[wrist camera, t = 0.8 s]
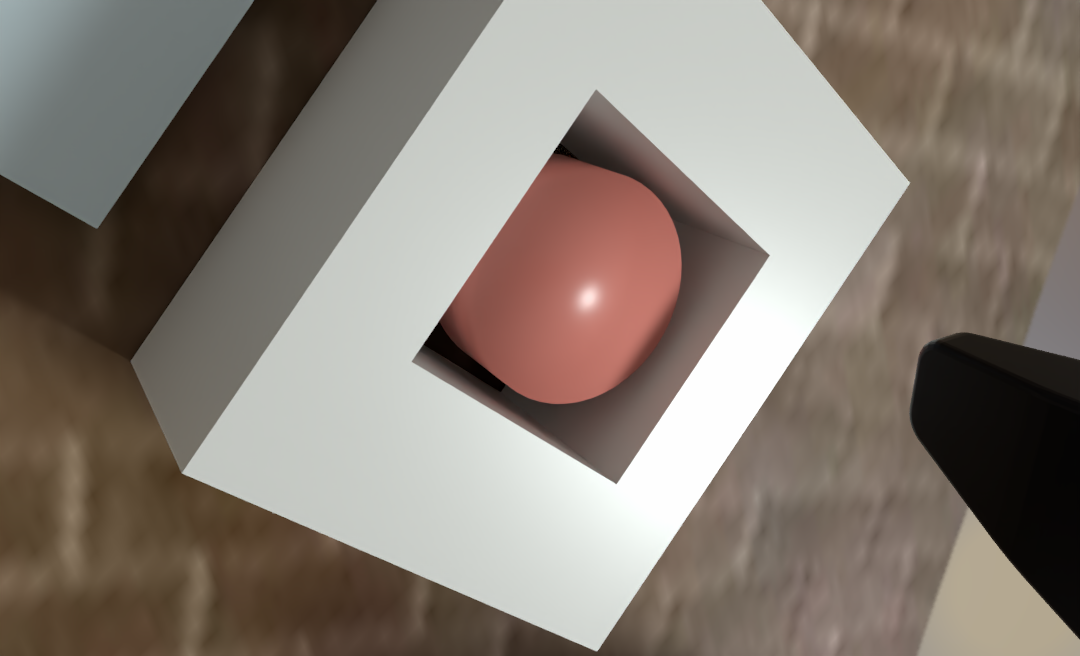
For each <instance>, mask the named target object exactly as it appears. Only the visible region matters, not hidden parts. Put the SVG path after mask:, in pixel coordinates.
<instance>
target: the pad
mask: <svg viewBox="0 0 1080 656" xmlns="http://www.w3.org/2000/svg"><path fill="white" fill-rule="evenodd" d="M253 1H254V0H0V175H2V176H4V177H6V178H7V179H9V180H11V181H13V182H14V183H16V184H18V185H20V186H22V187H23V188H25V189H27V190H29V191H30V192H32V193H34V194H36V195H38V196H39V197H41V198H43V199H45V200H46V201H48V202H50V203H52V204H54V205H55V206H57V207H59V208H61V209H62V210H64V211H66V212H68V213H70V214H71V215H73V216H75V217H77V218H78V219H80V220H82V221H84V222H86V223H87V224H89V225H91V226H93V227H94V228H96V229H97V228H98V227H99V226H100V224H101V223H102V221H103V220H104V218H105V217H106V215H107V214H108V212H109V211H110V210H111V208H112V207H113V205H114V204H115V202H116V201H117V199H118V198H119V196H120V195H121V194H122V192H123V191H124V189H125V188H126V186H127V185H128V183H129V182H130V180H131V179H132V178H133V176H134V175H135V173H136V172H137V170H138V169H139V167H140V166H141V164H142V163H143V162H144V160H145V159H146V157H147V156H148V154H149V153H150V151H151V150H152V148H153V147H154V146H155V144H156V143H157V141H158V140H159V138H160V137H161V135H162V134H163V132H164V131H165V130H166V128H167V127H168V125H169V124H170V122H171V121H172V119H173V118H174V116H175V115H176V113H177V112H178V111H179V109H180V108H181V106H182V105H183V103H184V102H185V100H186V99H187V97H188V96H189V95H190V93H191V92H192V90H193V89H194V87H195V86H196V84H197V83H198V81H199V80H200V79H201V77H202V76H203V74H204V73H205V71H206V70H207V68H208V67H209V65H210V64H211V63H212V61H213V60H214V58H215V57H216V55H217V54H218V52H219V51H220V49H221V48H222V47H223V45H224V44H225V42H226V41H227V39H228V38H229V36H230V35H231V33H232V32H233V31H234V29H235V28H236V26H237V25H238V23H239V22H240V20H241V19H242V17H243V16H244V15H245V13H246V12H247V10H248V9H249V7H250V6H251V4H252V3H253Z"/></svg>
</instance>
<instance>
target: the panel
mask: <svg viewBox="0 0 1080 656" xmlns="http://www.w3.org/2000/svg"><path fill="white" fill-rule="evenodd" d="M559 143H561V144H562V145H563V146H564V147H565V148H566V149H567V150H569V151H570V152H571V153H572V154H573V155H574V156H575V157H576V158H578V159H579V160H580V161H583V162H586V163H589V164H592V165H595V166H598V167H601V168H604V169H607V170H610V171H613V172H616V173H619V174H622V175H625V176H628V177H630V178H632V179H634V180H636V181H638V182H640V183H642V184H643V185H644V186H645V187H647V188H648V189H649V190H651V191H652V192H653V193H654V194H655V195H656V196H657V197H658V199H659V200H660V201H661V202H662V204H663V205H664V207H665V208H666V209H667V211H668V213H669V215H670V217H671V219H672V221H673V223H674V226H675V229H676V232H677V235H678V239H679V244H680V249H681V261H682V268H681V282H680V289H679V294H678V298H677V302H676V306H675V309H674V312H673V315H672V317H671V320H670V322H669V324H668V326H667V329H666V331H665V333H664V335H663V336H662V338H661V340H660V341H659V343H658V345H657V346H656V348H655V349H654V350H653V352H652V353H651V354H650V356H649V357H648V358H647V359H646V360H645V362H644V363H643V364H642V365H641V366H640V367H639V368H638V369H637V370H636V371H635V372H634V373H633V374H631V375H630V376H629V377H628V378H627V379H626V380H624V381H623V382H621V383H620V384H619V385H617V386H616V387H614V388H612V389H611V390H609V391H607V392H605V393H603V394H601V395H598V396H596V397H594V398H591V399H588V400H584V401H580V402H576V403H568V404H550V403H544V402H539V401H536V400H533V399H530V398H527V397H525V396H523V395H521V394H519V393H517V392H516V391H514V390H513V389H512V388H510V387H509V386H508V385H505V387H504V388H503V390H502V391H501V392H499V391H498V390H496V389H495V388H493V387H491V386H490V385H488V384H486V383H485V382H483V381H482V380H480V379H478V378H477V377H475V376H473V375H472V374H470V373H469V372H467V371H465V370H464V369H462V368H461V367H459V366H457V365H456V364H454V363H452V362H451V361H449V360H448V359H446V358H444V357H443V356H441V355H439V354H438V353H436V352H435V351H433V350H431V349H430V348H428V347H427V346H425V345H423V344H424V342H425V341H426V339H427V338H428V336H429V335H430V334H431V332H432V331H433V329H434V328H435V326H436V325H437V323H438V322H439V320H440V319H441V317H442V316H443V314H444V313H445V311H446V310H447V308H448V307H449V305H450V304H451V303H452V301H453V300H454V298H455V297H456V295H457V294H458V292H459V291H460V289H461V288H462V286H463V285H464V283H465V282H466V280H467V279H468V277H469V276H470V274H471V273H472V271H473V270H474V269H475V267H476V266H477V264H478V263H479V261H480V260H481V258H482V257H483V255H484V254H485V252H486V251H487V249H488V248H489V246H490V245H491V243H492V242H493V240H494V239H495V238H496V236H497V235H498V233H499V232H500V230H501V229H502V227H503V226H504V224H505V223H506V221H507V220H508V218H509V217H510V215H511V214H512V212H513V211H514V209H515V208H516V207H517V205H518V204H519V202H520V201H521V199H522V198H523V196H524V195H525V193H526V192H527V190H528V189H529V187H530V186H531V184H532V183H533V181H534V180H535V178H536V177H537V176H538V174H539V173H540V171H541V170H542V168H543V167H544V165H545V164H546V162H547V161H548V159H549V158H550V156H551V155H552V153H553V152H554V150H555V149H556V147H557V146H558V145H559ZM909 184H910V183H909V181H908V180H907V179H906V178H905V177H904V175H903V174H902V173H901V172H900V170H899V169H898V168H897V167H896V165H895V164H894V163H893V162H892V161H891V159H890V158H889V157H888V156H887V154H886V153H885V152H884V151H883V149H882V148H881V147H880V146H879V145H878V143H877V142H876V141H875V140H874V138H873V137H872V136H871V135H870V133H869V132H868V131H867V130H866V129H865V127H864V126H863V125H862V124H861V122H860V121H859V120H858V119H857V117H856V116H855V115H854V114H853V113H852V111H851V110H850V109H849V108H848V106H847V105H846V104H845V103H844V102H843V100H842V99H841V98H840V97H839V95H838V94H837V93H836V92H835V90H834V89H833V88H832V87H831V86H830V84H829V83H828V82H827V81H826V79H825V78H824V77H823V76H822V74H821V73H820V72H819V71H818V70H817V68H816V67H815V66H814V65H813V63H812V62H811V61H810V60H809V58H808V57H807V56H806V55H805V54H804V52H803V51H802V50H801V49H800V47H799V46H798V45H797V44H796V42H795V41H794V40H793V39H792V38H791V36H790V35H789V34H788V33H787V31H786V30H785V29H784V28H783V26H782V25H781V24H780V23H779V22H778V20H777V19H776V18H775V17H774V15H773V14H772V13H771V12H770V10H769V9H768V8H767V7H766V6H765V4H764V3H763V2H762V1H761V0H377V2H376V3H375V5H374V6H373V7H372V9H371V10H370V12H369V13H368V15H367V16H366V18H365V19H364V21H363V22H362V24H361V25H360V26H359V28H358V29H357V31H356V32H355V34H354V35H353V37H352V38H351V40H350V41H349V43H348V44H347V45H346V47H345V48H344V50H343V51H342V53H341V54H340V56H339V57H338V59H337V60H336V62H335V63H334V64H333V66H332V67H331V69H330V70H329V72H328V73H327V75H326V76H325V78H324V79H323V81H322V82H321V83H320V85H319V86H318V88H317V89H316V91H315V92H314V94H313V95H312V97H311V98H310V100H309V101H308V102H307V104H306V105H305V107H304V108H303V110H302V111H301V113H300V114H299V116H298V117H297V119H296V120H295V121H294V123H293V124H292V126H291V127H290V129H289V130H288V132H287V133H286V135H285V136H284V138H283V139H282V140H281V142H280V143H279V145H278V146H277V148H276V149H275V151H274V152H273V154H272V155H271V157H270V158H269V159H268V161H267V162H266V164H265V165H264V167H263V168H262V170H261V171H260V173H259V174H258V176H257V177H256V178H255V180H254V181H253V183H252V184H251V186H250V187H249V189H248V190H247V192H246V193H245V195H244V196H243V197H242V199H241V200H240V202H239V203H238V205H237V206H236V208H235V209H234V211H233V212H232V214H231V215H230V216H229V218H228V219H227V221H226V222H225V224H224V225H223V227H222V228H221V230H220V231H219V233H218V234H217V235H216V237H215V238H214V240H213V241H212V243H211V244H210V246H209V247H208V249H207V250H206V252H205V253H204V254H203V256H202V257H201V259H200V260H199V262H198V263H197V265H196V266H195V268H194V269H193V271H192V272H191V273H190V275H189V276H188V278H187V279H186V281H185V282H184V284H183V285H182V287H181V288H180V290H179V291H178V292H177V294H176V295H175V297H174V298H173V300H172V301H171V303H170V304H169V306H168V307H167V309H166V310H165V311H164V313H163V314H162V316H161V317H160V319H159V320H158V322H157V323H156V325H155V326H154V328H153V329H152V330H151V332H150V333H149V335H148V336H147V338H146V339H145V341H144V342H143V344H142V345H141V347H140V348H139V349H138V351H137V352H136V354H135V355H134V357H133V358H132V360H131V361H130V362H131V364H132V366H133V368H134V370H135V372H136V375H137V377H138V379H139V381H140V383H141V386H142V388H143V390H144V392H145V394H146V396H147V399H148V401H149V403H150V405H151V407H152V409H153V412H154V414H155V416H156V418H157V420H158V423H159V425H160V427H161V429H162V431H163V433H164V436H165V438H166V440H167V442H168V444H169V447H170V449H171V451H172V453H173V455H174V457H175V460H176V462H177V464H178V466H179V468H180V470H181V473H182V474H185V475H187V476H189V477H192V478H194V479H196V480H199V481H201V482H203V483H206V484H208V485H210V486H213V487H215V488H217V489H220V490H222V491H224V492H227V493H229V494H231V495H234V496H236V497H238V498H241V499H243V500H245V501H248V502H250V503H252V504H255V505H257V506H259V507H262V508H264V509H266V510H269V511H271V512H273V513H276V514H278V515H280V516H282V517H285V518H287V519H289V520H292V521H294V522H296V523H299V524H301V525H303V526H306V527H308V528H310V529H313V530H315V531H317V532H320V533H322V534H324V535H327V536H329V537H331V538H334V539H336V540H338V541H341V542H343V543H345V544H348V545H350V546H352V547H355V548H357V549H359V550H362V551H364V552H366V553H369V554H371V555H373V556H376V557H378V558H380V559H383V560H385V561H387V562H390V563H392V564H394V565H397V566H399V567H401V568H404V569H406V570H408V571H411V572H413V573H415V574H418V575H420V576H422V577H425V578H427V579H429V580H431V581H434V582H436V583H438V584H441V585H443V586H445V587H448V588H450V589H452V590H455V591H457V592H459V593H462V594H464V595H466V596H469V597H471V598H473V599H476V600H478V601H480V602H483V603H485V604H487V605H490V606H492V607H494V608H497V609H499V610H501V611H504V612H506V613H508V614H511V615H513V616H515V617H518V618H520V619H522V620H525V621H527V622H529V623H532V624H534V625H536V626H539V627H541V628H543V629H546V630H548V631H550V632H553V633H555V634H557V635H560V636H562V637H564V638H567V639H569V640H571V641H573V642H576V643H578V644H580V645H583V646H585V647H587V648H590V649H592V650H594V651H598V649H599V648H600V646H601V645H602V643H603V642H604V640H605V639H606V637H607V636H608V634H609V633H610V631H611V630H612V628H613V627H614V625H615V624H616V623H617V621H618V620H619V618H620V617H621V615H622V614H623V612H624V611H625V609H626V608H627V606H628V605H629V603H630V602H631V600H632V599H633V597H634V596H635V594H636V593H637V591H638V590H639V588H640V587H641V585H642V584H643V582H644V581H645V579H646V578H647V576H648V575H649V573H650V572H651V570H652V569H653V567H654V566H655V564H656V563H657V561H658V560H659V558H660V557H661V555H662V554H663V552H664V551H665V549H666V548H667V546H668V545H669V543H670V542H671V540H672V539H673V537H674V536H675V534H676V533H677V531H678V530H679V528H680V527H681V525H682V524H683V522H684V521H685V519H686V518H687V516H688V515H689V513H690V512H691V510H692V509H693V507H694V506H695V504H696V503H697V501H698V500H699V498H700V497H701V495H702V494H703V492H704V491H705V489H706V488H707V486H708V485H709V483H710V482H711V480H712V479H713V477H714V476H715V474H716V473H717V471H718V470H719V468H720V467H721V465H722V464H723V462H724V461H725V459H726V458H727V456H728V455H729V453H730V452H731V450H732V449H733V447H734V446H735V444H736V443H737V441H738V440H739V438H740V437H741V435H742V434H743V432H744V431H745V429H746V428H747V426H748V425H749V423H750V422H751V420H752V419H753V417H754V416H755V414H756V413H757V411H758V410H759V408H760V407H761V405H762V404H763V402H764V401H765V399H766V398H767V396H768V395H769V393H770V392H771V390H772V389H773V387H774V386H775V384H776V383H777V381H778V380H779V378H780V377H781V375H782V374H783V372H784V371H785V369H786V368H787V366H788V365H789V363H790V362H791V360H792V359H793V357H794V356H795V354H796V353H797V351H798V350H799V348H800V347H801V345H802V344H803V342H804V341H805V339H806V338H807V336H808V335H809V333H810V332H811V330H812V329H813V328H814V326H815V325H816V323H817V322H818V320H819V319H820V317H821V316H822V314H823V313H824V311H825V310H826V308H827V307H828V305H829V304H830V302H831V301H832V299H833V298H834V296H835V295H836V293H837V292H838V290H839V289H840V287H841V286H842V284H843V283H844V281H845V280H846V278H847V277H848V275H849V274H850V272H851V271H852V269H853V268H854V266H855V265H856V263H857V262H858V260H859V259H860V257H861V256H862V254H863V253H864V251H865V250H866V248H867V247H868V245H869V244H870V242H871V241H872V239H873V238H874V236H875V235H876V233H877V232H878V230H879V229H880V227H881V226H882V224H883V223H884V221H885V220H886V218H887V217H888V215H889V214H890V212H891V211H892V209H893V208H894V206H895V205H896V203H897V202H898V200H899V199H900V197H901V196H902V194H903V193H904V191H905V190H906V188H907V187H908V185H909Z"/></svg>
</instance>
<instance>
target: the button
mask: <svg viewBox="0 0 1080 656" xmlns="http://www.w3.org/2000/svg"><path fill="white" fill-rule="evenodd" d="M681 268H682V261H681V249H680V244H679V239H678V235H677V232H676V229H675V226H674V223H673V221H672V219H671V217H670V215H669V213H668V211H667V209H666V208H665V207H664V205H663V204H662V202H661V201H660V200H659V199H658V197H657V196H656V195H655V194H654V193H653V192H652V191H651V190H649V189H648V188H647V187H645V186H644V185H643V184H642V183H640V182H638V181H636V180H634V179H632V178H630V177H628V176H625V175H622V174H619V173H616V172H613V171H610V170H607V169H604V168H601V167H598V166H595V165H592V164H589V163H586V162H583V161H580V160H577V159H574V158H571V157H568V156H565V155H561V154H556V153H552V155H551V156H550V158H549V159H548V161H547V162H546V164H545V165H544V167H543V168H542V170H541V171H540V173H539V174H538V176H537V177H536V178H535V180H534V181H533V183H532V184H531V186H530V187H529V189H528V190H527V192H526V193H525V195H524V196H523V198H522V199H521V201H520V202H519V204H518V205H517V207H516V208H515V209H514V211H513V212H512V214H511V215H510V217H509V218H508V220H507V221H506V223H505V224H504V226H503V227H502V229H501V230H500V232H499V233H498V235H497V236H496V238H495V239H494V240H493V242H492V243H491V245H490V246H489V248H488V249H487V251H486V252H485V254H484V255H483V257H482V258H481V260H480V261H479V263H478V264H477V266H476V267H475V269H474V270H473V271H472V273H471V274H470V276H469V277H468V279H467V280H466V282H465V283H464V285H463V286H462V288H461V289H460V291H459V292H458V294H457V295H456V297H455V298H454V300H453V301H452V303H451V304H450V305H449V307H448V308H447V310H446V311H445V313H444V314H443V316H442V317H441V319H440V320H439V321H440V323H441V325H442V327H443V329H444V330H445V332H446V333H447V334H448V336H449V337H450V339H451V340H452V341H453V342H454V343H455V344H456V345H457V346H458V347H459V348H460V349H461V350H462V351H463V352H465V353H466V354H467V355H469V356H470V357H471V358H473V359H474V360H475V361H476V362H478V363H479V364H480V365H482V366H483V367H484V368H485V369H487V370H488V371H489V372H491V373H492V374H493V375H495V376H496V377H497V378H498V379H500V380H501V381H502V382H504V383H505V384H506V385H508V386H509V387H510V388H512V389H513V390H514V391H516V392H517V393H519V394H521V395H523V396H525V397H527V398H530V399H533V400H536V401H539V402H544V403H550V404H568V403H576V402H580V401H584V400H588V399H591V398H594V397H596V396H598V395H601V394H603V393H605V392H607V391H609V390H611V389H612V388H614V387H616V386H617V385H619V384H620V383H621V382H623V381H624V380H626V379H627V378H628V377H629V376H630V375H631V374H633V373H634V372H635V371H636V370H637V369H638V368H639V367H640V366H641V365H642V364H643V363H644V362H645V360H646V359H647V358H648V357H649V356H650V354H651V353H652V352H653V350H654V349H655V348H656V346H657V345H658V343H659V341H660V340H661V338H662V336H663V335H664V333H665V331H666V329H667V326H668V324H669V322H670V320H671V317H672V315H673V312H674V309H675V306H676V302H677V298H678V294H679V289H680V282H681Z"/></svg>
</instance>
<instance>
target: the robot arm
mask: <svg viewBox="0 0 1080 656" xmlns="http://www.w3.org/2000/svg"><path fill="white" fill-rule="evenodd" d="M909 414H910V422H911V425H912V428H913V431H914V433H915V435H916V436H917V438H918V440H919V441H920V442H921V444H922V445H923V446H924V448H925V449H926V450H927V452H928V453H929V454H930V456H931V457H932V458H933V460H934V461H935V462H936V464H937V465H938V466H939V468H940V469H941V471H942V472H943V473H944V475H945V476H946V477H947V479H948V480H949V481H950V483H951V484H952V485H953V487H954V488H955V489H956V491H957V492H958V493H959V495H960V496H961V497H962V499H963V500H964V501H965V503H966V504H967V506H968V507H969V508H970V510H971V511H972V512H973V513H974V515H975V516H976V518H977V519H978V520H979V522H980V523H981V524H982V526H983V527H984V528H985V530H986V531H987V532H988V534H989V535H990V536H991V538H992V539H993V540H994V542H995V543H996V544H997V546H998V547H999V548H1000V549H1001V551H1002V552H1003V553H1004V554H1005V556H1006V557H1007V558H1008V559H1009V561H1010V562H1011V563H1012V564H1013V565H1014V567H1015V568H1016V569H1017V570H1018V571H1019V572H1020V573H1021V575H1022V576H1023V577H1024V578H1025V579H1026V581H1027V582H1028V583H1029V584H1030V585H1031V586H1032V587H1033V588H1034V589H1035V590H1036V592H1037V593H1038V594H1039V595H1040V596H1041V597H1042V598H1043V599H1044V600H1045V602H1046V603H1047V604H1048V605H1049V606H1050V607H1051V608H1052V609H1053V610H1054V612H1055V613H1056V614H1057V615H1058V616H1059V617H1060V618H1061V619H1062V620H1063V622H1064V623H1065V624H1066V625H1067V626H1068V627H1069V628H1070V629H1071V630H1072V631H1073V633H1075V635H1076V636H1077V637H1078V638H1079V639H1080V360H1077V359H1074V358H1070V357H1066V356H1061V355H1057V354H1053V353H1049V352H1045V351H1041V350H1037V349H1033V348H1029V347H1025V346H1021V345H1017V344H1013V343H1009V342H1005V341H1001V340H997V339H993V338H989V337H985V336H981V335H976V334H972V333H956V334H953V335H949V336H946V337H943V338H940V339H936V340H933V341H931V342H929V343H927V344H926V345H925V346H924V347H923V349H922V350H921V352H920V354H919V357H918V363H917V368H916V374H915V380H914V386H913V392H912V398H911V404H910V412H909Z"/></svg>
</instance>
